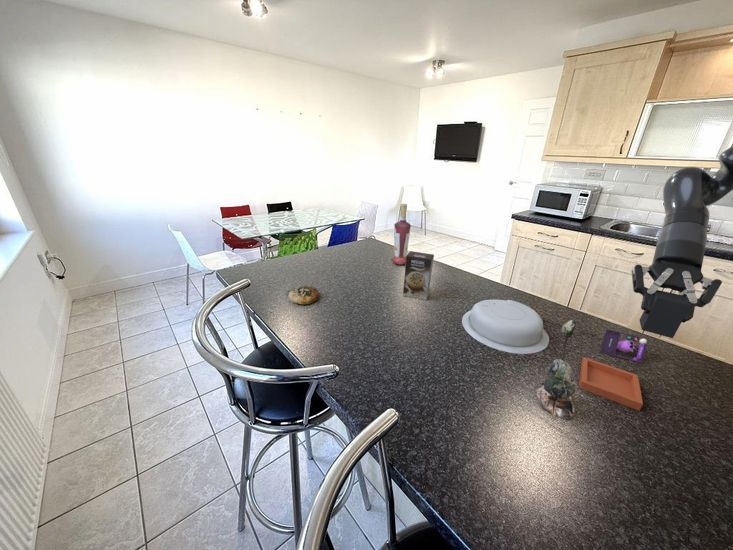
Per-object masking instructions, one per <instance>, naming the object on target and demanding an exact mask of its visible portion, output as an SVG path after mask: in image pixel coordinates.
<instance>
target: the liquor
mask: <svg viewBox="0 0 733 550" xmlns="http://www.w3.org/2000/svg"><path fill="white" fill-rule="evenodd" d="M407 209H408V204H407V203H400V216H399V221H397V222H395V223H394V231H393V259H392V263H394V264H395V265H397V266H404V265H406V256H407V255H408V249H409V243H410V242H409V241H410V233H411V227H412V226H411V224H410V223H409V222H408V221H407Z"/></svg>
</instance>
